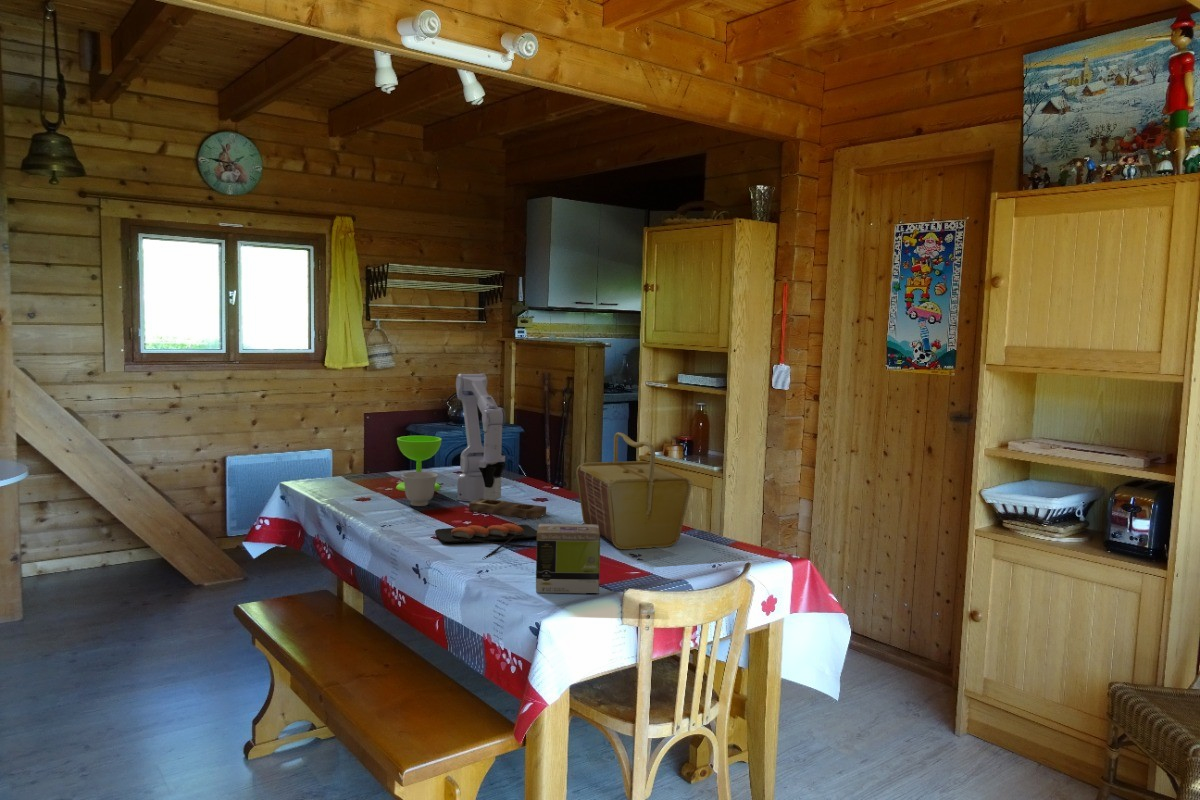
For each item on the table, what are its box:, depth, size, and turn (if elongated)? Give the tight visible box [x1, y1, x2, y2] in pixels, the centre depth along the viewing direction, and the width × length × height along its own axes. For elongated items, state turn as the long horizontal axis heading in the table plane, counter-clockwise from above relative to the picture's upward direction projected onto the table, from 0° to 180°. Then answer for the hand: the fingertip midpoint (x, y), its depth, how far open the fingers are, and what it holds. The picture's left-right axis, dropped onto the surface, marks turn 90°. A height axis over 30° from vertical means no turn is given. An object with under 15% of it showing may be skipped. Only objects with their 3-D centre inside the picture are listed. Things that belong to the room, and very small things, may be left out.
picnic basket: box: [575, 431, 692, 550], centre depth 255 cm, size 29×26×30 cm
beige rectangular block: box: [484, 476, 502, 500], centre depth 284 cm, size 4×4×7 cm
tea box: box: [535, 523, 601, 594], centre depth 207 cm, size 15×10×15 cm
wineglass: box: [395, 435, 443, 492], centre depth 316 cm, size 16×16×18 cm
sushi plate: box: [434, 522, 537, 559], centre depth 244 cm, size 29×30×4 cm
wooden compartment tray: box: [468, 499, 547, 520], centre depth 283 cm, size 24×8×3 cm, turn 69°
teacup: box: [401, 471, 439, 507], centre depth 290 cm, size 12×15×10 cm
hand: (491, 486), depth 284 cm, fingers closed on beige rectangular block, 4 cm apart
